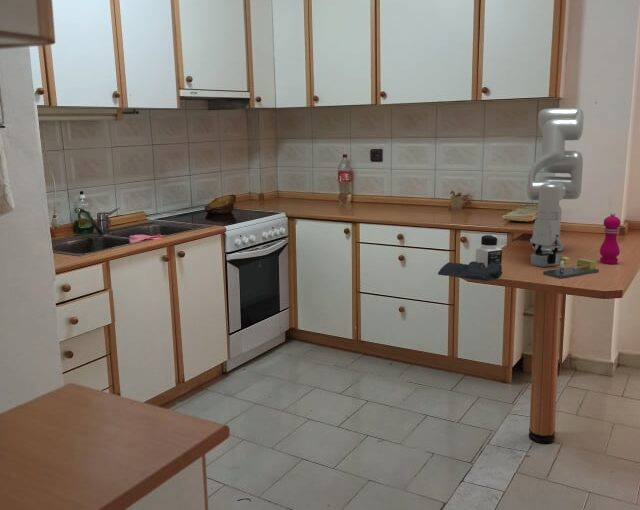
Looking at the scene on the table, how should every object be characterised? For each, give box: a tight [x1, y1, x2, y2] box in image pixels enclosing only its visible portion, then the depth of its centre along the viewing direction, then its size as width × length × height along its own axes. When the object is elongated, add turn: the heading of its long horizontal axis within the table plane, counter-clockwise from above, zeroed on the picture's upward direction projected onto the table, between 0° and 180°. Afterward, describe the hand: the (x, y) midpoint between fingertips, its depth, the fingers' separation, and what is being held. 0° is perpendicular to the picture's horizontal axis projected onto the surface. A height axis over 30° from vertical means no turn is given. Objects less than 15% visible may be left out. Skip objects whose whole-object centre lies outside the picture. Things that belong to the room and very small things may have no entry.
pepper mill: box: [599, 211, 621, 265], centre depth 251 cm, size 7×7×20 cm
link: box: [530, 251, 560, 268], centre depth 250 cm, size 6×9×4 cm, turn 119°
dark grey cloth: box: [437, 260, 503, 282], centre depth 236 cm, size 15×22×5 cm
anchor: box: [559, 254, 571, 265], centre depth 254 cm, size 6×3×3 cm, turn 28°
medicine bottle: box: [474, 234, 503, 267], centre depth 247 cm, size 7×7×12 cm
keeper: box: [542, 257, 600, 279], centre depth 235 cm, size 8×20×5 cm, turn 118°
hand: (545, 261), depth 250 cm, fingers closed on link, 6 cm apart
